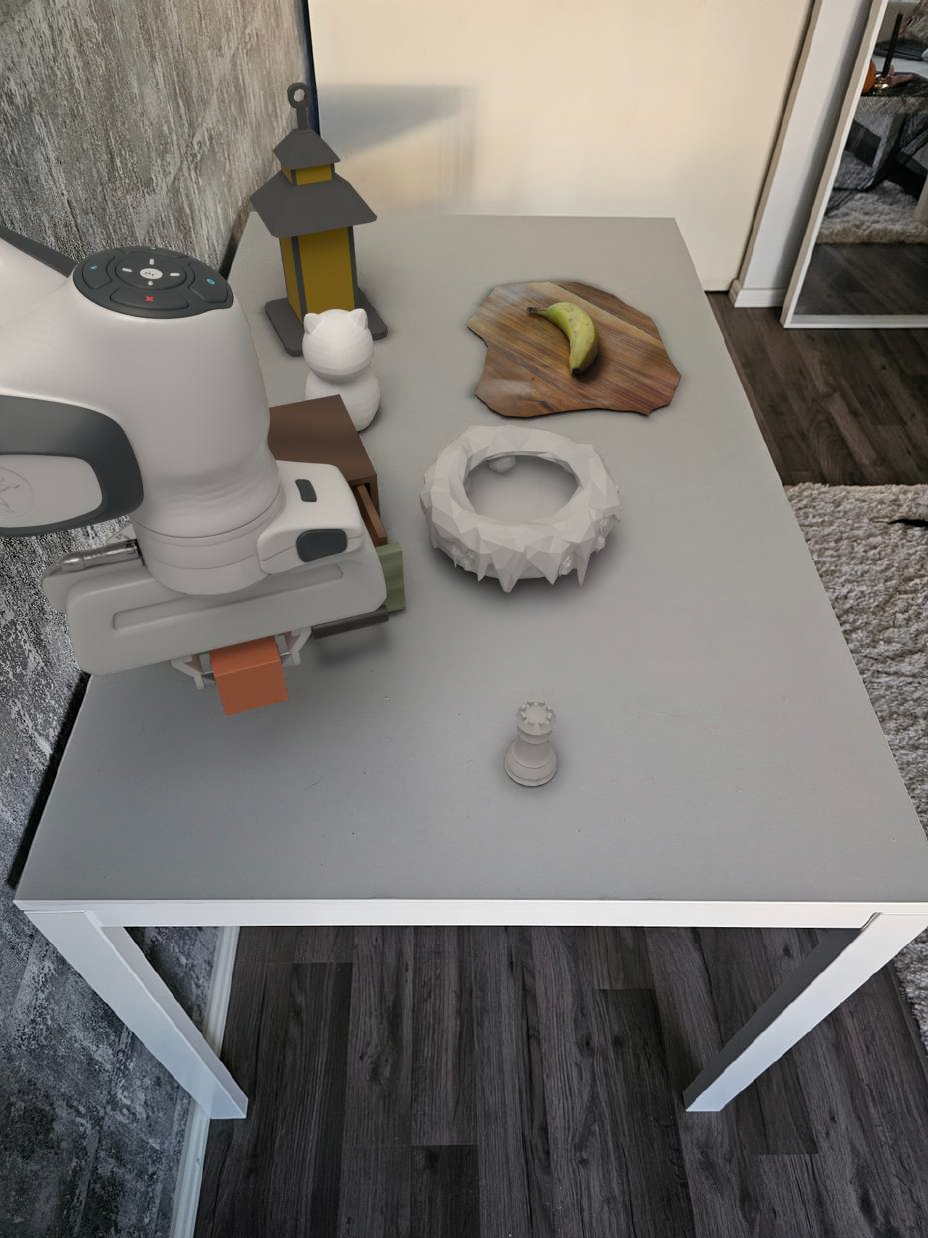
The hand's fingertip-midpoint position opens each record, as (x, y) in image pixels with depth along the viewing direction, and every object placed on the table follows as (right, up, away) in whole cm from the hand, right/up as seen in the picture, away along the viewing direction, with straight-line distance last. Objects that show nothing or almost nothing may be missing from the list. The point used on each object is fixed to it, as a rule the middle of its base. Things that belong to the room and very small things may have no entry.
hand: (248, 670), depth 65 cm
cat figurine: (+1, +29, +48) cm, 56 cm away
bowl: (+21, +11, +32) cm, 40 cm away
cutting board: (+29, +41, +58) cm, 77 cm away
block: (0, -1, +1) cm, 2 cm away
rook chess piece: (+21, -9, +13) cm, 26 cm away
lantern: (-4, +45, +62) cm, 77 cm away
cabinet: (-2, +15, +35) cm, 38 cm away
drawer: (+2, +6, +26) cm, 27 cm away
